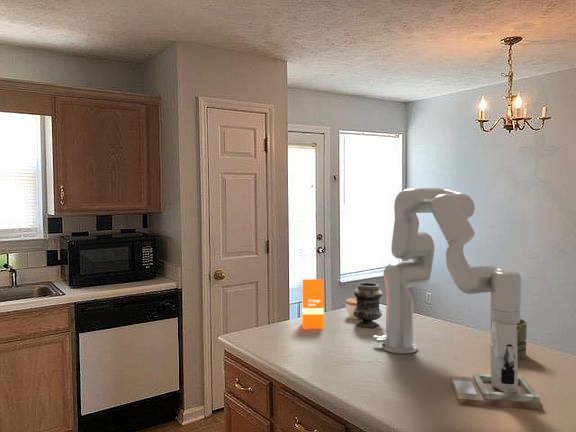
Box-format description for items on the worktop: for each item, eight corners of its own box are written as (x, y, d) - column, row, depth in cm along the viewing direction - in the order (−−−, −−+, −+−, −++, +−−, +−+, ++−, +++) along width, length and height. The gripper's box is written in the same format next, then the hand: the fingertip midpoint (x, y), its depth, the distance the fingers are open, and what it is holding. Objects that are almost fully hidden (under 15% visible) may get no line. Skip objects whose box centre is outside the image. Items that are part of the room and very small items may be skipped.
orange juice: (323, 328, 200) (323, 281, 199) (302, 328, 200) (302, 281, 199) (322, 323, 208) (322, 277, 207) (302, 323, 208) (302, 277, 207)
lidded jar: (344, 320, 213) (344, 299, 213) (345, 314, 224) (345, 294, 223) (369, 320, 211) (369, 299, 211) (369, 314, 222) (369, 294, 221)
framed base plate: (458, 404, 128) (458, 393, 128) (449, 380, 144) (449, 371, 144) (542, 410, 125) (543, 398, 124) (524, 385, 140) (524, 375, 140)
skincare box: (518, 391, 132) (519, 348, 131) (505, 394, 130) (506, 350, 130) (501, 383, 138) (502, 342, 137) (489, 385, 136) (490, 343, 135)
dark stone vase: (375, 331, 196) (375, 287, 195) (348, 327, 202) (348, 284, 201) (386, 324, 206) (386, 282, 205) (360, 320, 212) (360, 280, 211)
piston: (488, 315, 173) (521, 317, 171) (487, 348, 174) (520, 350, 172) (494, 324, 162) (530, 325, 160) (494, 358, 163) (530, 361, 161)
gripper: (484, 307, 142) (482, 365, 143) (498, 323, 125) (497, 389, 126) (511, 308, 141) (509, 367, 142) (529, 324, 124) (527, 391, 125)
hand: (503, 377), depth 134 cm, fingers closed on skincare box, 7 cm apart
